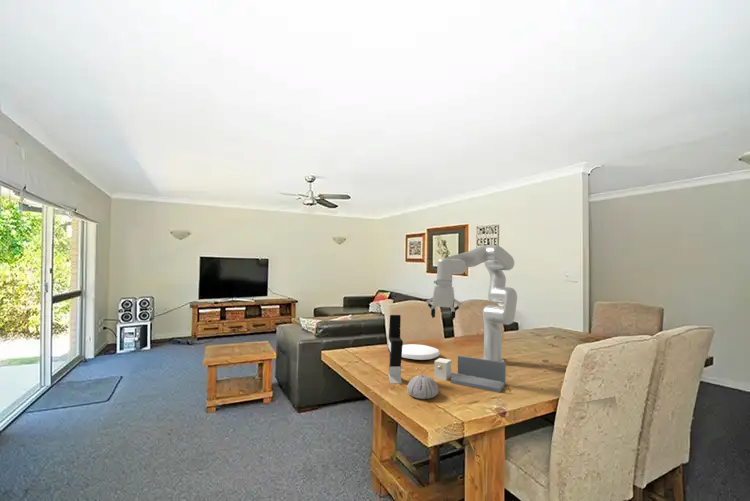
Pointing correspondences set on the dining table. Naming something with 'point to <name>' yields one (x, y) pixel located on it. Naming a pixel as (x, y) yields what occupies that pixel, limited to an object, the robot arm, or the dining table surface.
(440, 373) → the cabinet block
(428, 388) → the sea urchin shell
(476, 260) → the robot arm
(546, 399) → the dining table surface
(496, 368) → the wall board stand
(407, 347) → the plate
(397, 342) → the award
